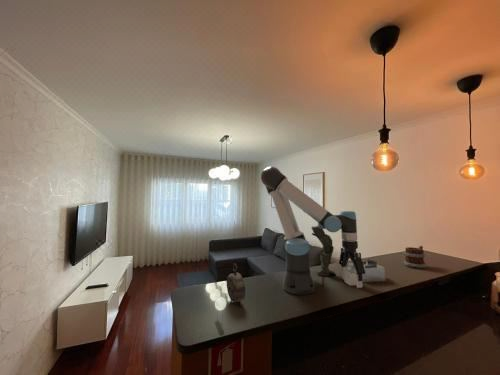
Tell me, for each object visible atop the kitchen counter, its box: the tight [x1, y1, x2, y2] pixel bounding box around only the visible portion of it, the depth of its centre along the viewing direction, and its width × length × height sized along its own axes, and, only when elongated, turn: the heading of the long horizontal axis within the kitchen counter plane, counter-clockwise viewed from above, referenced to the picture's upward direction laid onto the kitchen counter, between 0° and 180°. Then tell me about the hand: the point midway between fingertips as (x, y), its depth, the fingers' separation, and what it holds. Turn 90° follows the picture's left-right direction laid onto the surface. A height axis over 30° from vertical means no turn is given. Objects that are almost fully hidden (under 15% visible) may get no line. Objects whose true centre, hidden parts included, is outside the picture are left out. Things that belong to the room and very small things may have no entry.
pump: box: [343, 265, 357, 286], centre depth 108 cm, size 5×5×9 cm
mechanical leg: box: [311, 224, 337, 277], centre depth 123 cm, size 14×7×30 cm, turn 85°
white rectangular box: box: [347, 258, 386, 283], centre depth 116 cm, size 16×11×10 cm
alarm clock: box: [226, 263, 246, 308], centre depth 88 cm, size 11×5×16 cm, turn 27°
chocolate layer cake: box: [403, 245, 427, 270], centre depth 136 cm, size 12×14×15 cm
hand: (352, 282), depth 107 cm, fingers open, 11 cm apart
